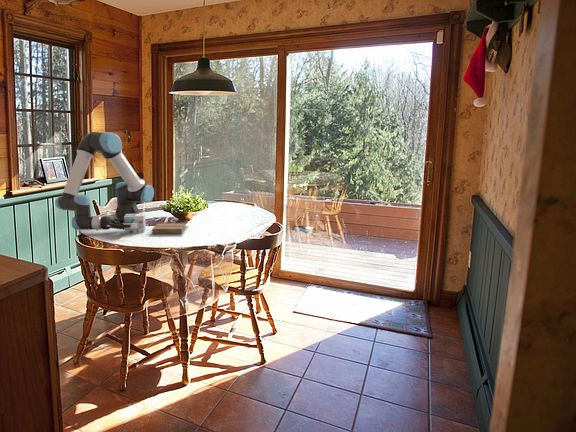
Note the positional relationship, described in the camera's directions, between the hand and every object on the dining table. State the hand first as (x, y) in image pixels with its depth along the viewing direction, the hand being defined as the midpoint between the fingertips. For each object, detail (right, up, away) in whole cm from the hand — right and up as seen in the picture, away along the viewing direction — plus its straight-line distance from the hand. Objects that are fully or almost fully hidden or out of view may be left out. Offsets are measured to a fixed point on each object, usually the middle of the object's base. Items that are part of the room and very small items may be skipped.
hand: (140, 222), depth 233 cm
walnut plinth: (+16, -5, +3) cm, 17 cm away
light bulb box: (-3, -6, +1) cm, 7 cm away
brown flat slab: (+16, -6, +3) cm, 17 cm away
